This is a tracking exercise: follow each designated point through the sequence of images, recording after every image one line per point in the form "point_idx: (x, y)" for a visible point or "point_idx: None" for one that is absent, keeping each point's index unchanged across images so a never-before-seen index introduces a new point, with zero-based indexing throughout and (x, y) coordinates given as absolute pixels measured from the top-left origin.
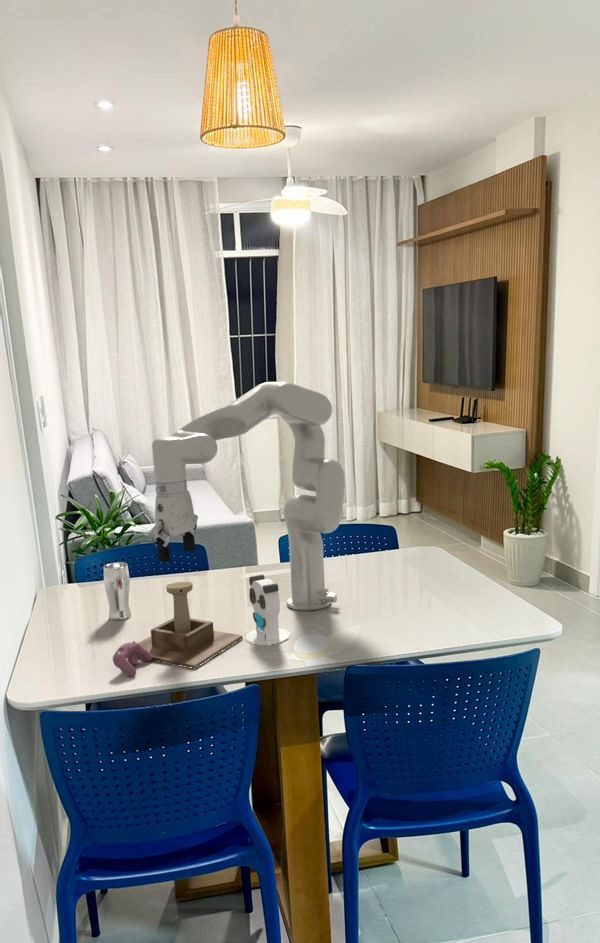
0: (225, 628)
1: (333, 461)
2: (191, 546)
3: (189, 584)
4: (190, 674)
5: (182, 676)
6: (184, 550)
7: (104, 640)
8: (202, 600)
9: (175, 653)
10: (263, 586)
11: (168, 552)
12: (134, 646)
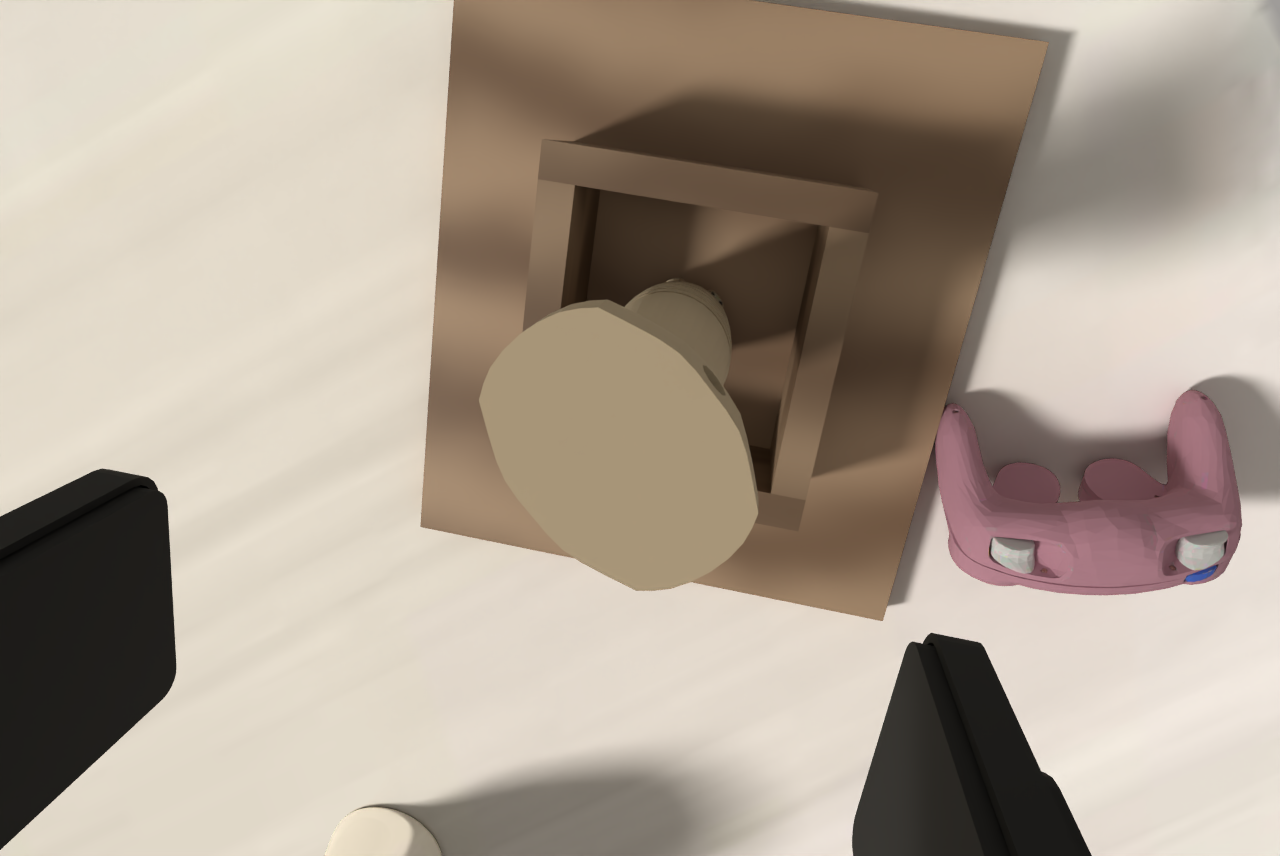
0: (337, 188)
1: None
2: (85, 566)
3: (570, 345)
4: (1127, 34)
5: (1166, 75)
6: (173, 675)
7: (703, 788)
8: None
9: (867, 285)
10: None
11: (1050, 796)
12: (1054, 516)
